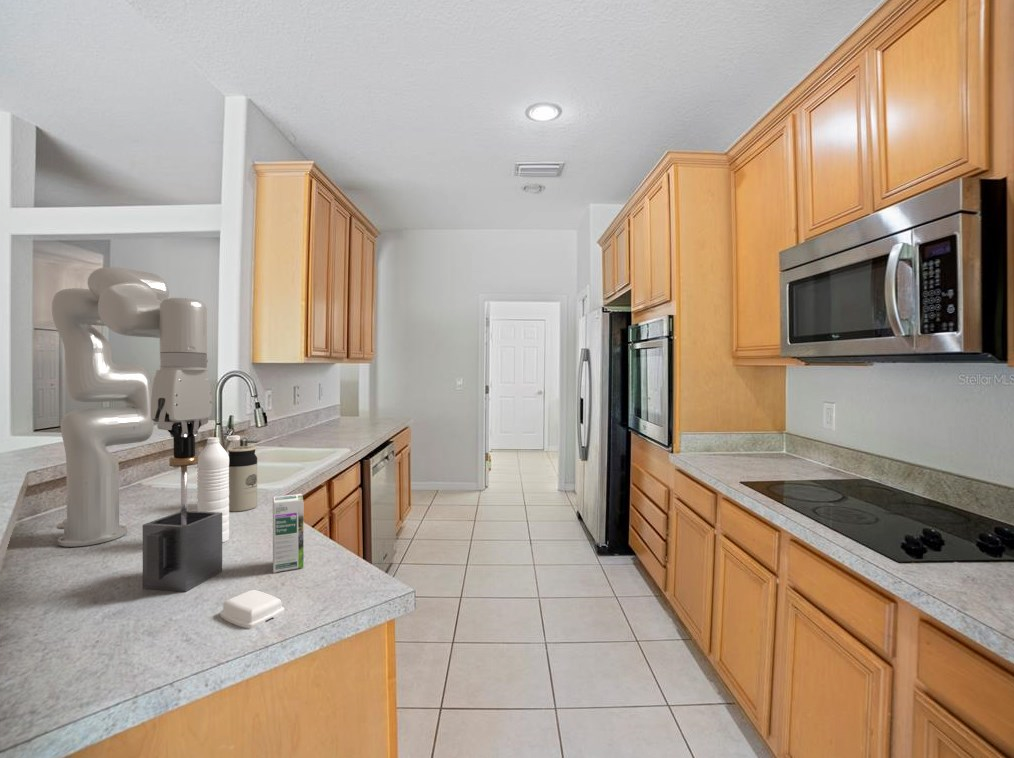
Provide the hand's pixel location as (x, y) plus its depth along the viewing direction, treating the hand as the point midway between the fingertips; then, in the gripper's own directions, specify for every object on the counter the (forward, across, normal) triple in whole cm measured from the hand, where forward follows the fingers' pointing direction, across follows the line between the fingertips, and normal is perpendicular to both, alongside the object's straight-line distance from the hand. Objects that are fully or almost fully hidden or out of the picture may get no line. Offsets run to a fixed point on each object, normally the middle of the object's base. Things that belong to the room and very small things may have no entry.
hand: (184, 456), depth 90 cm
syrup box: (+24, -9, +16) cm, 30 cm away
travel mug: (+24, -45, -22) cm, 56 cm away
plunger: (+16, 0, 0) cm, 16 cm away
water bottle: (+24, -20, -9) cm, 33 cm away
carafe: (+24, +1, 0) cm, 24 cm away
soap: (+25, +10, +21) cm, 34 cm away
